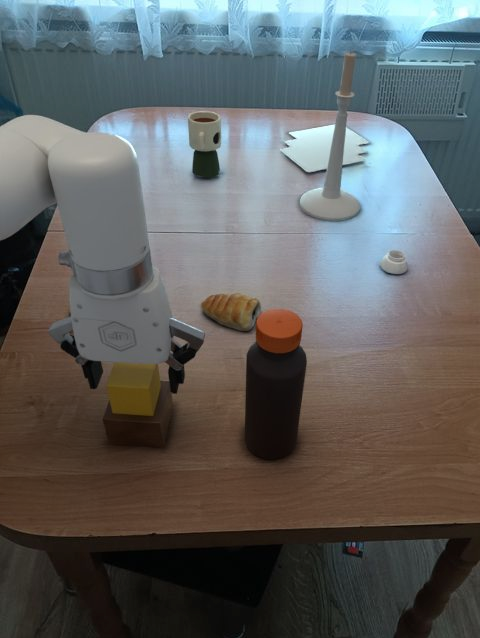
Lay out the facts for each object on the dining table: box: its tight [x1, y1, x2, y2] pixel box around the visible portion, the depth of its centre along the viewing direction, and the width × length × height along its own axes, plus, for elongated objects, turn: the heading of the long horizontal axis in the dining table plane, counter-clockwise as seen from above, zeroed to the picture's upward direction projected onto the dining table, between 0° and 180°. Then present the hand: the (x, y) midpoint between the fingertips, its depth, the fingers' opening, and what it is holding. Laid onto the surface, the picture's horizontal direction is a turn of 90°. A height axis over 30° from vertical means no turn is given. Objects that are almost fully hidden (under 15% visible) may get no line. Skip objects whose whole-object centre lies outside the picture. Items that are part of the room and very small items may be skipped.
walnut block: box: [102, 380, 174, 449], centre depth 69 cm, size 7×7×5 cm
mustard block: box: [105, 362, 161, 416], centre depth 66 cm, size 5×5×5 cm
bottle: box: [244, 307, 308, 460], centre depth 63 cm, size 7×7×20 cm
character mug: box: [187, 110, 222, 179], centre depth 120 cm, size 11×7×13 cm, turn 175°
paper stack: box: [278, 124, 371, 173], centre depth 137 cm, size 23×25×1 cm
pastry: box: [200, 292, 262, 332], centre depth 87 cm, size 9×7×4 cm
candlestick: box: [299, 52, 361, 222], centre depth 105 cm, size 13×13×30 cm
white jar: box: [379, 249, 409, 275], centre depth 99 cm, size 5×3×5 cm
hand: (136, 382), depth 65 cm, fingers open, 9 cm apart
